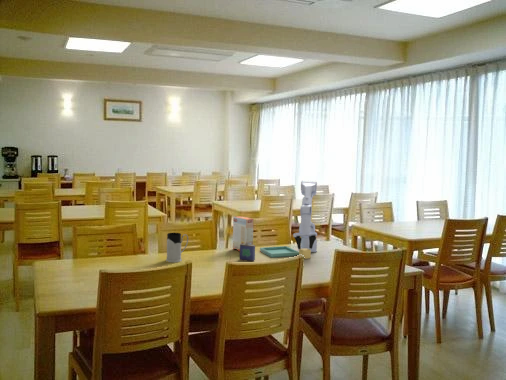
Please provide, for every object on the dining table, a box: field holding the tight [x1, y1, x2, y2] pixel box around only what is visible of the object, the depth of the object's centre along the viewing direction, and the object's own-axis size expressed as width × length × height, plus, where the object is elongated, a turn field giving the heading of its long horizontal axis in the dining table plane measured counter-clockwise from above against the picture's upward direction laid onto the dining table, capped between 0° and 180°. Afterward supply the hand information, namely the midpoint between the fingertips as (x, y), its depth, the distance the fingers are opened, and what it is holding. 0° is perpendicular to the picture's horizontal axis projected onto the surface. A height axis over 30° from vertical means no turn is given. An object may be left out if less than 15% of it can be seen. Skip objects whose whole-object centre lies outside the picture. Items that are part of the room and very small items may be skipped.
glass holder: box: [165, 232, 189, 263], centre depth 257 cm, size 9×14×15 cm, turn 137°
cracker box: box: [232, 215, 254, 252], centre depth 284 cm, size 14×6×21 cm, turn 36°
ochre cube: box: [298, 248, 312, 260], centre depth 270 cm, size 5×5×5 cm
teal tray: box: [259, 245, 299, 258], centre depth 279 cm, size 18×18×2 cm
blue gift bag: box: [239, 242, 256, 262], centre depth 259 cm, size 9×3×11 cm, turn 68°
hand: (304, 248), depth 269 cm, fingers open, 7 cm apart
